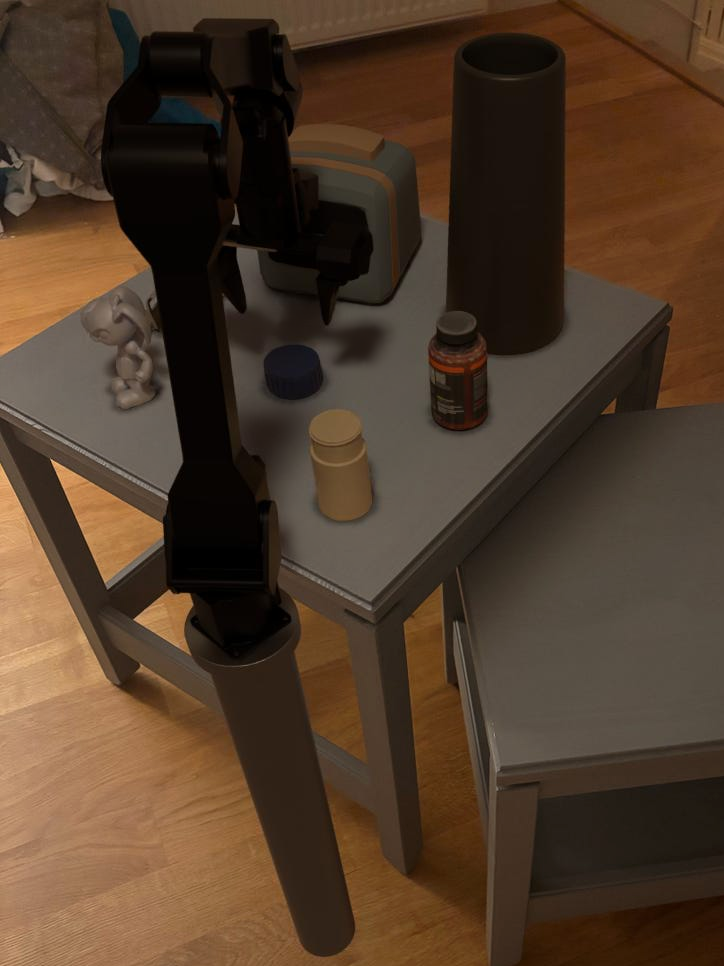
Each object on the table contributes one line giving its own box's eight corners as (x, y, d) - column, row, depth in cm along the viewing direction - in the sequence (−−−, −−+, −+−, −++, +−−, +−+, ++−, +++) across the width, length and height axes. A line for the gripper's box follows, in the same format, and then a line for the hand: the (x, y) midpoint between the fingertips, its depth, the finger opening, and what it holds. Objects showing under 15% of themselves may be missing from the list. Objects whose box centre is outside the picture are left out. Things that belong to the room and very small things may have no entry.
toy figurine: (102, 380, 114) (68, 282, 104) (161, 367, 115) (133, 269, 106) (112, 418, 110) (78, 319, 100) (173, 404, 111) (145, 305, 102)
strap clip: (121, 329, 120) (111, 296, 117) (133, 314, 122) (123, 281, 118) (189, 340, 118) (181, 307, 115) (200, 325, 120) (192, 292, 117)
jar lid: (255, 386, 113) (250, 365, 111) (292, 359, 116) (288, 337, 114) (297, 407, 111) (294, 385, 109) (334, 378, 114) (331, 356, 112)
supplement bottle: (490, 398, 112) (490, 305, 103) (484, 434, 108) (485, 341, 99) (434, 395, 112) (430, 302, 103) (427, 431, 108) (422, 338, 100)
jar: (346, 529, 99) (335, 451, 92) (307, 505, 101) (294, 427, 94) (383, 500, 102) (375, 422, 94) (345, 477, 104) (334, 399, 97)
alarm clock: (257, 293, 124) (233, 162, 112) (304, 223, 134) (286, 96, 122) (389, 312, 122) (378, 180, 109) (426, 239, 132) (420, 111, 119)
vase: (543, 279, 126) (556, 18, 104) (579, 344, 118) (602, 75, 95) (433, 296, 124) (423, 32, 102) (462, 363, 116) (457, 92, 93)
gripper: (383, 139, 99) (394, 286, 111) (199, 119, 102) (229, 264, 114) (348, 198, 92) (363, 347, 105) (152, 174, 95) (189, 322, 107)
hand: (285, 317), depth 108 cm, fingers open, 9 cm apart
